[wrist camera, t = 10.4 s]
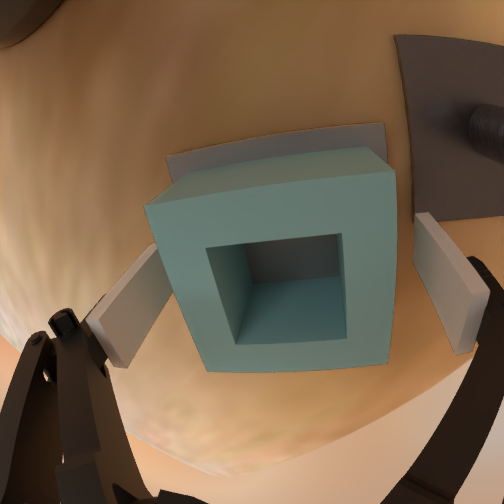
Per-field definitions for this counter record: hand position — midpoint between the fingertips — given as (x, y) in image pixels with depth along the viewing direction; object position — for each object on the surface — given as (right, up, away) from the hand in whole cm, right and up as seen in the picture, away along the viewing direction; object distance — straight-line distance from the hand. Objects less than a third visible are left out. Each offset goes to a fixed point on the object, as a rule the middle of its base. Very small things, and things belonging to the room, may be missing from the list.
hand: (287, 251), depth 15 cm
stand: (+11, +7, -3) cm, 13 cm away
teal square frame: (0, +1, +1) cm, 1 cm away
